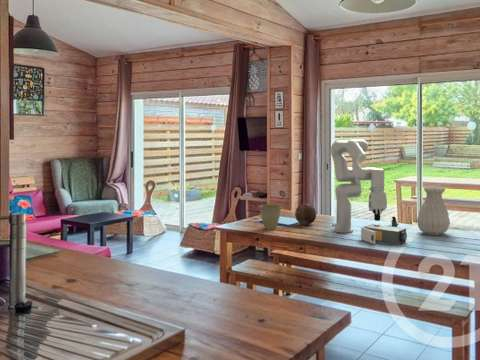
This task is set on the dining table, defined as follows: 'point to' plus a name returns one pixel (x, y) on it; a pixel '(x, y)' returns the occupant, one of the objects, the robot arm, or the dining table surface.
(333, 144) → the robot arm
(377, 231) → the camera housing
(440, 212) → the vase
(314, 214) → the wooden sphere
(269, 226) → the plant pot
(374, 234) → the side door
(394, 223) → the binoculars
